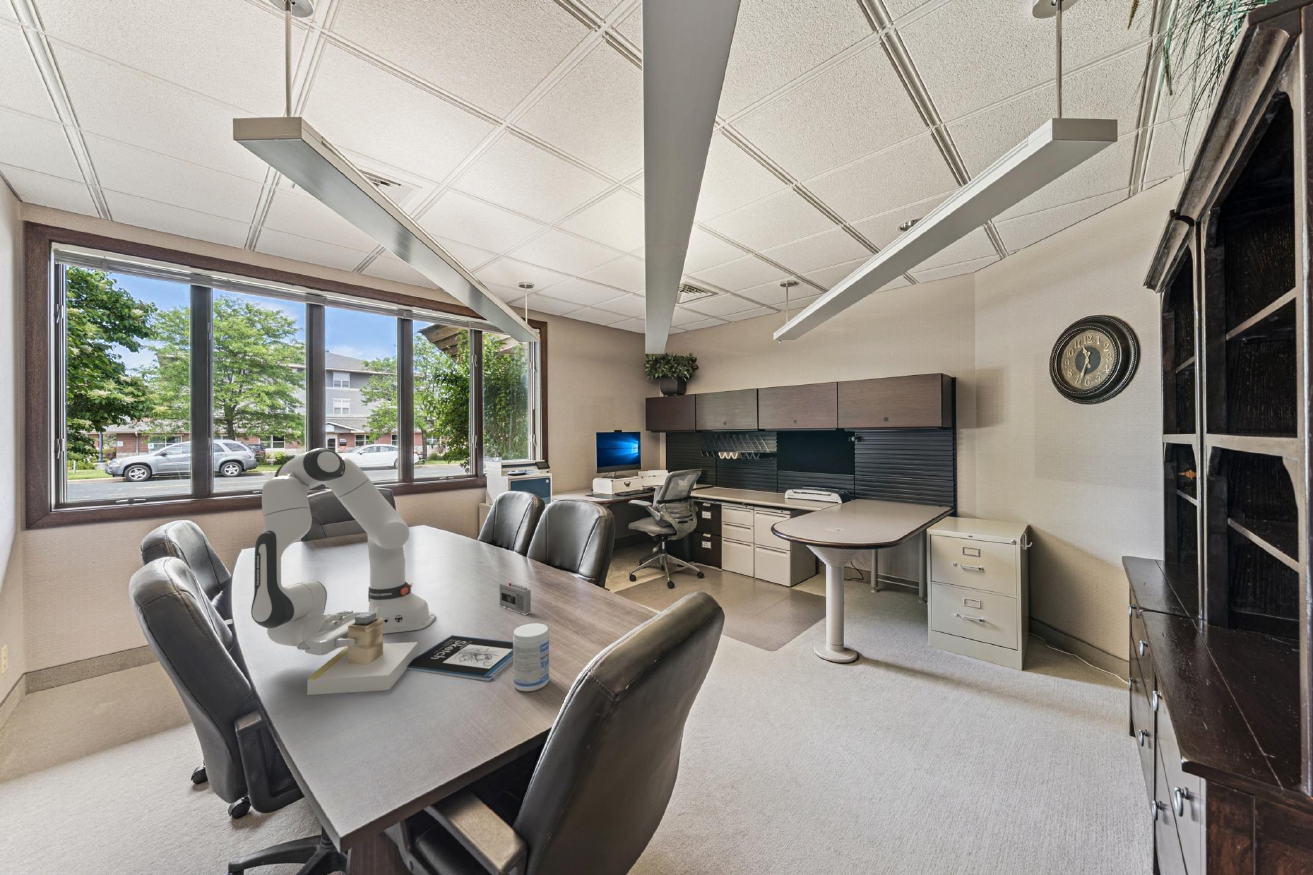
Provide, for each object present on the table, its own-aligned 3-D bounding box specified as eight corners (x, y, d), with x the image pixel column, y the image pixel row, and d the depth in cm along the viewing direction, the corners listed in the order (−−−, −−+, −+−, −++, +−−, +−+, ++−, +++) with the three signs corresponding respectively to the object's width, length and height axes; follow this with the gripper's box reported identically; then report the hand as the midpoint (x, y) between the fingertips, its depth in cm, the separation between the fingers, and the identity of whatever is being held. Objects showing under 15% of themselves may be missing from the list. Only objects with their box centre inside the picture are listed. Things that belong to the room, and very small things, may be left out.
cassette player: (499, 606, 184) (499, 581, 184) (505, 604, 186) (505, 579, 186) (524, 615, 175) (524, 589, 175) (530, 613, 177) (530, 587, 177)
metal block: (364, 624, 134) (364, 611, 134) (376, 625, 134) (376, 612, 134) (355, 629, 130) (355, 616, 130) (366, 630, 130) (366, 617, 130)
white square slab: (418, 654, 143) (418, 640, 143) (389, 690, 123) (389, 673, 123) (348, 658, 141) (348, 644, 141) (307, 695, 121) (307, 678, 121)
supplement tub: (549, 690, 123) (549, 635, 123) (511, 695, 121) (511, 638, 121) (549, 672, 132) (549, 621, 132) (514, 676, 130) (514, 624, 130)
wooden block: (364, 653, 135) (364, 617, 135) (383, 654, 135) (382, 618, 135) (347, 663, 129) (347, 625, 129) (367, 664, 129) (367, 626, 129)
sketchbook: (451, 639, 156) (451, 632, 156) (532, 649, 148) (532, 642, 148) (401, 670, 135) (401, 662, 135) (492, 683, 127) (492, 676, 127)
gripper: (292, 636, 124) (338, 639, 122) (353, 607, 144) (393, 610, 142) (292, 659, 124) (338, 663, 122) (353, 628, 144) (393, 630, 142)
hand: (368, 634), depth 132 cm, fingers open, 8 cm apart
